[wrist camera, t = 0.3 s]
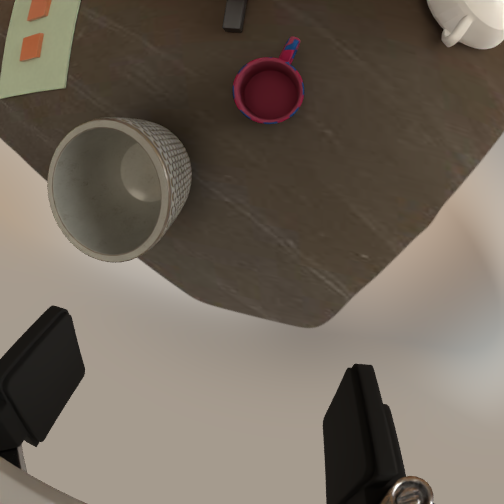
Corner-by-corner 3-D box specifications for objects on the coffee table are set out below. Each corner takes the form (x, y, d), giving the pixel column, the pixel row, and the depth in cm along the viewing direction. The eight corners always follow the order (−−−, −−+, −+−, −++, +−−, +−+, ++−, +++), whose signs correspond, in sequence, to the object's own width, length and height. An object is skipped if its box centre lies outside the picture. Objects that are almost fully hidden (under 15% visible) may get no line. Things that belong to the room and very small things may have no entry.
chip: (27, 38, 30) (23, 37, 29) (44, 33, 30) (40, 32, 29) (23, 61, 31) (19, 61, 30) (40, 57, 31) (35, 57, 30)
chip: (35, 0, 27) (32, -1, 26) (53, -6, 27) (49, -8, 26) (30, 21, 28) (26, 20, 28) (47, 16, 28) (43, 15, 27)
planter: (169, 240, 41) (129, 290, 30) (92, 183, 39) (31, 212, 27) (228, 155, 36) (202, 173, 24) (139, 95, 34) (80, 91, 22)
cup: (231, 105, 34) (219, 102, 28) (275, 36, 30) (273, 19, 24) (280, 134, 35) (280, 137, 28) (325, 65, 31) (335, 54, 25)
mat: (18, -7, 26) (17, -8, 26) (90, -33, 25) (89, -34, 25) (-1, 98, 34) (-2, 99, 34) (66, 88, 34) (64, 88, 33)
